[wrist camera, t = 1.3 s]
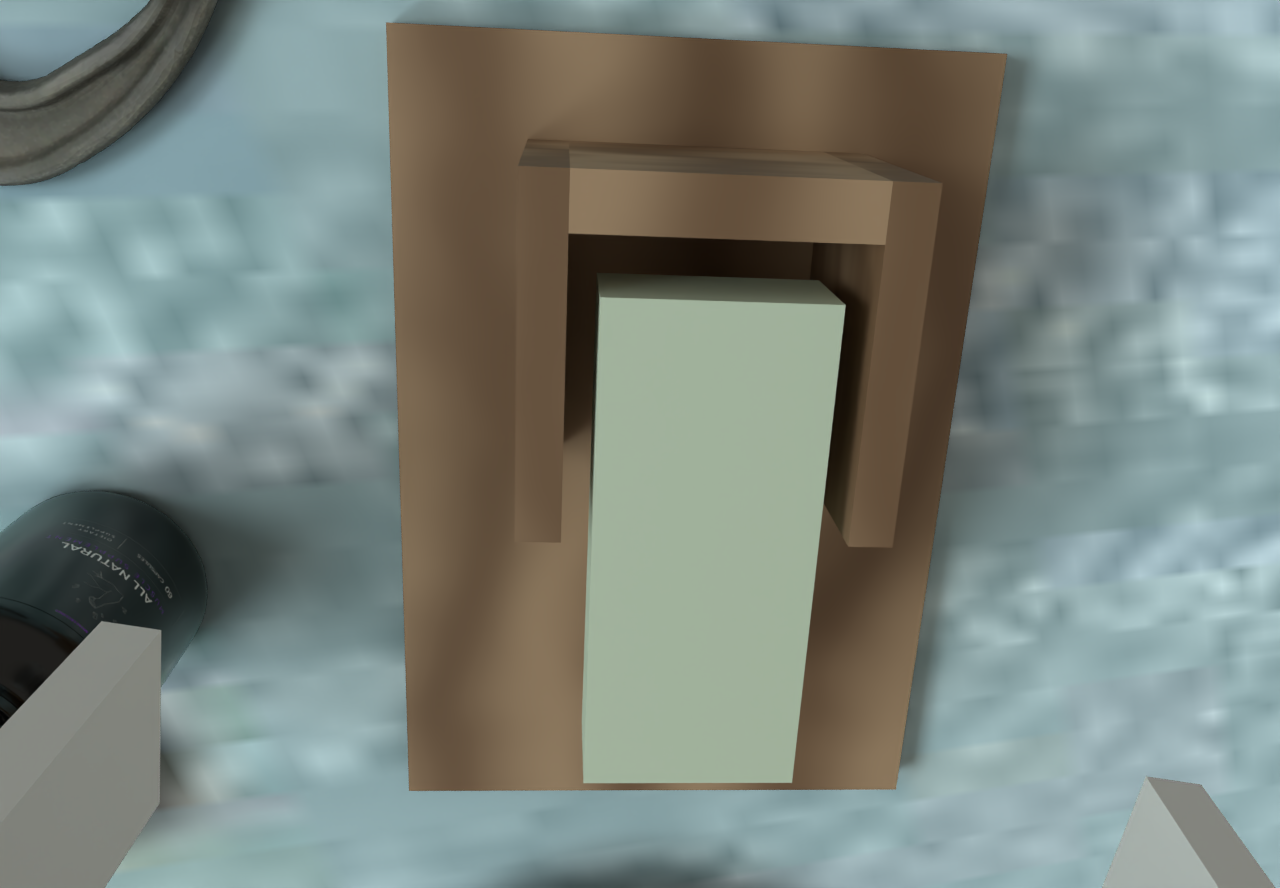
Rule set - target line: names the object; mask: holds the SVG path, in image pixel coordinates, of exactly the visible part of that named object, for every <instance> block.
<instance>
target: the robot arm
mask: <svg viewBox="0 0 1280 888" xmlns="http://www.w3.org/2000/svg"><path fill="white" fill-rule="evenodd" d="M160 713H161V630H157V629H150V628H144V627H137V626H130V625H123V624H117V623H110V622H103V621H101V622H100V623H99V624H98V625H97V627H96V628H95V629H94V630H93V631H92V632H91V633H90V634H89V635H88V636H87V637H86V638H85V639H84V640H83V641H82V642H81V643H80V645H79V646H78V647H77V648H76V649H75V650H74V651H73V652H72V653H71V654H70V655H69V656H68V657H67V658H66V659H65V660H64V661H63V663H62V664H61V665H60V666H59V667H58V668H57V669H56V670H55V671H54V672H53V673H52V674H51V675H50V676H49V677H48V678H47V679H46V681H45V682H44V683H43V684H42V685H41V686H40V687H39V688H38V689H37V690H36V691H35V692H34V693H33V694H32V695H31V696H30V697H29V698H28V700H27V701H26V702H25V703H24V704H23V705H22V706H21V707H20V708H19V709H18V710H17V711H16V712H15V713H14V714H13V715H12V716H11V718H10V719H9V720H8V721H7V722H6V723H5V724H4V725H3V726H2V727H1V728H0V888H105V887H106V885H107V883H108V882H109V880H110V879H111V877H112V876H113V874H114V873H115V871H116V870H117V868H118V866H119V865H120V863H121V862H122V860H123V859H124V857H125V856H126V854H127V853H128V851H129V849H130V848H131V846H132V845H133V843H134V842H135V840H136V839H137V837H138V836H139V834H140V832H141V831H142V829H143V828H144V826H145V825H146V823H147V822H148V820H149V819H150V817H151V815H152V814H153V812H154V811H155V809H156V808H157V806H158V805H159V803H160ZM1102 888H1275V887H1274V885H1273V884H1272V882H1271V881H1270V880H1269V878H1268V877H1267V876H1266V874H1265V873H1264V871H1263V870H1262V869H1261V867H1260V866H1259V864H1258V863H1257V862H1256V860H1255V859H1254V857H1253V856H1252V855H1251V853H1250V852H1249V851H1248V849H1247V848H1246V846H1245V845H1244V844H1243V842H1242V841H1241V839H1240V838H1239V837H1238V835H1237V834H1236V832H1235V831H1234V830H1233V828H1232V827H1231V826H1230V824H1229V823H1228V821H1227V820H1226V819H1225V817H1224V816H1223V814H1222V813H1221V812H1220V810H1219V809H1218V807H1217V806H1216V805H1215V803H1214V802H1213V801H1212V799H1211V798H1210V796H1209V795H1208V794H1207V792H1206V791H1205V789H1204V788H1203V787H1202V785H1200V784H1193V783H1186V782H1180V781H1173V780H1166V779H1160V778H1153V777H1145V780H1144V783H1143V785H1142V788H1141V790H1140V793H1139V795H1138V798H1137V800H1136V803H1135V805H1134V808H1133V810H1132V813H1131V815H1130V818H1129V821H1128V823H1127V826H1126V828H1125V831H1124V833H1123V836H1122V838H1121V841H1120V843H1119V846H1118V848H1117V851H1116V853H1115V856H1114V859H1113V861H1112V864H1111V866H1110V869H1109V871H1108V874H1107V876H1106V879H1105V881H1104V884H1103V886H1102Z"/></svg>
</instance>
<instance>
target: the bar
mask: <svg viewBox="0 0 1280 888" xmlns="http://www.w3.org/2000/svg"><path fill="white" fill-rule="evenodd" d="M845 307H846V305H845V304H844V303H843V302H842V301H841V300H840V299H839V298H837V297H836V296H835V295H834V294H833V293H832V292H831V291H830V290H829V289H828V288H827V287H826V286H825V285H824V284H822V283H821V282H820V281H819V280H797V279H767V278H738V277H708V276H678V275H649V274H619V273H597V282H596V311H595V341H594V371H593V401H592V431H591V460H590V490H589V520H588V550H587V580H586V609H585V639H584V669H583V699H582V751H583V783H792V778H793V769H794V760H795V751H796V742H797V733H798V724H799V716H800V707H801V698H802V689H803V680H804V671H805V662H806V653H807V644H808V636H809V627H810V618H811V609H812V600H813V591H814V582H815V573H816V564H817V556H818V547H819V538H820V529H821V520H822V511H823V502H824V493H825V485H826V476H827V467H828V458H829V449H830V440H831V431H832V422H833V413H834V405H835V396H836V387H837V378H838V369H839V360H840V351H841V342H842V334H843V325H844V316H845Z"/></svg>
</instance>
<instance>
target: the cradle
mask: <svg viewBox="0 0 1280 888" xmlns="http://www.w3.org/2000/svg"><path fill="white" fill-rule="evenodd" d="M386 33H387V66H388V99H389V133H390V166H391V200H392V233H393V266H394V300H395V333H396V366H397V400H398V433H399V467H400V500H401V533H402V567H403V600H404V633H405V667H406V700H407V733H408V767H409V791H490V790H843V789H896V784H897V778H898V771H899V765H900V758H901V751H902V745H903V738H904V732H905V725H906V718H907V712H908V705H909V699H910V692H911V685H912V679H913V672H914V666H915V659H916V652H917V646H918V639H919V633H920V626H921V619H922V613H923V606H924V600H925V593H926V586H927V580H928V573H929V567H930V560H931V553H932V547H933V540H934V534H935V527H936V520H937V514H938V507H939V501H940V494H941V487H942V481H943V474H944V468H945V461H946V454H947V448H948V441H949V435H950V428H951V422H952V415H953V408H954V402H955V395H956V389H957V382H958V375H959V369H960V362H961V356H962V349H963V342H964V336H965V329H966V323H967V316H968V309H969V303H970V296H971V290H972V283H973V276H974V270H975V263H976V257H977V250H978V243H979V237H980V230H981V224H982V217H983V210H984V204H985V197H986V191H987V184H988V177H989V171H990V164H991V158H992V151H993V144H994V138H995V131H996V125H997V118H998V111H999V105H1000V98H1001V92H1002V85H1003V79H1004V72H1005V65H1006V59H1007V54H999V53H979V52H959V51H939V50H920V49H900V48H880V47H860V46H840V45H821V44H801V43H781V42H761V41H741V40H722V39H702V38H682V37H662V36H642V35H623V34H603V33H583V32H563V31H543V30H524V29H504V28H484V27H464V26H444V25H425V24H405V23H386ZM597 273H619V274H649V275H678V276H708V277H738V278H767V279H797V280H819V281H820V282H821V283H822V284H824V285H825V286H826V287H827V288H828V289H829V290H830V291H831V292H832V293H833V294H834V295H835V296H836V297H837V298H839V299H840V300H841V301H842V302H843V303H844V304H845V305H846V307H845V316H844V325H843V334H842V342H841V351H840V360H839V369H838V378H837V387H836V396H835V405H834V413H833V422H832V431H831V440H830V449H829V458H828V467H827V476H826V485H825V493H824V502H823V511H822V520H821V529H820V538H819V547H818V556H817V564H816V573H815V582H814V591H813V600H812V609H811V618H810V627H809V636H808V644H807V653H806V662H805V671H804V680H803V689H802V698H801V707H800V716H799V724H798V733H797V742H796V751H795V760H794V769H793V778H792V783H583V751H582V699H583V669H584V639H585V609H586V580H587V550H588V520H589V490H590V460H591V431H592V401H593V371H594V341H595V311H596V282H597Z"/></svg>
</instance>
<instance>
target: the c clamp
mask: <svg viewBox="0 0 1280 888" xmlns="http://www.w3.org/2000/svg"><path fill="white" fill-rule="evenodd" d="M217 1H218V0H150V1H149V2H148V3H147V5H146V6H145V7H144V8H143V9H142V10H141V11H140V12H139V13H138V14H137V15H135V16H134V17H133V18H132V19H131V20H130V21H129V22H128V23H127V24H125V25H124V26H123V27H121V28H120V29H119V30H118V31H117V32H115V33H114V34H112V35H111V36H110V37H108V38H107V39H105V40H103V41H101V42H100V43H98V44H96V45H95V46H94V47H92V48H90V49H88V50H87V51H86V52H84V53H82V54H81V55H79V56H77V57H75V58H74V59H73V60H71V61H70V62H68V63H66V64H65V65H63V66H62V67H60V68H58V69H57V70H55V71H53V72H51V73H50V74H48V75H47V76H44V77H41V78H38V79H34V80H29V81H21V82H19V81H3V80H0V185H1V186H8V185H23V184H32V183H36V182H41V181H44V180H48V179H50V178H53V177H55V176H58V175H60V174H63V173H65V172H67V171H69V170H70V169H72V168H73V167H75V166H77V165H78V164H80V163H82V162H85V161H86V160H88V159H89V158H91V157H92V156H94V155H95V154H97V153H99V152H101V151H102V150H104V149H105V148H106V147H108V146H109V145H111V144H112V143H113V142H115V141H116V140H118V139H119V138H120V137H121V136H123V135H124V134H125V133H126V132H128V131H129V130H130V129H131V128H132V127H133V126H134V125H135V124H136V123H138V122H139V121H140V120H141V119H142V118H143V117H144V116H145V115H146V114H147V113H148V112H149V111H150V110H151V109H152V108H153V107H154V106H155V105H156V104H157V103H158V102H159V100H160V99H161V98H162V97H163V96H164V94H165V93H166V92H167V91H168V89H169V88H170V87H171V86H172V84H173V83H174V82H175V80H176V79H177V77H178V76H179V75H180V73H181V72H182V70H183V69H184V67H185V66H186V64H187V63H188V61H189V60H190V58H191V57H192V55H193V53H194V51H195V49H196V47H197V45H198V44H199V42H200V40H201V38H202V36H203V34H204V32H205V30H206V28H207V25H208V23H209V21H210V19H211V16H212V14H213V11H214V9H215V6H216V4H217Z"/></svg>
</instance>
